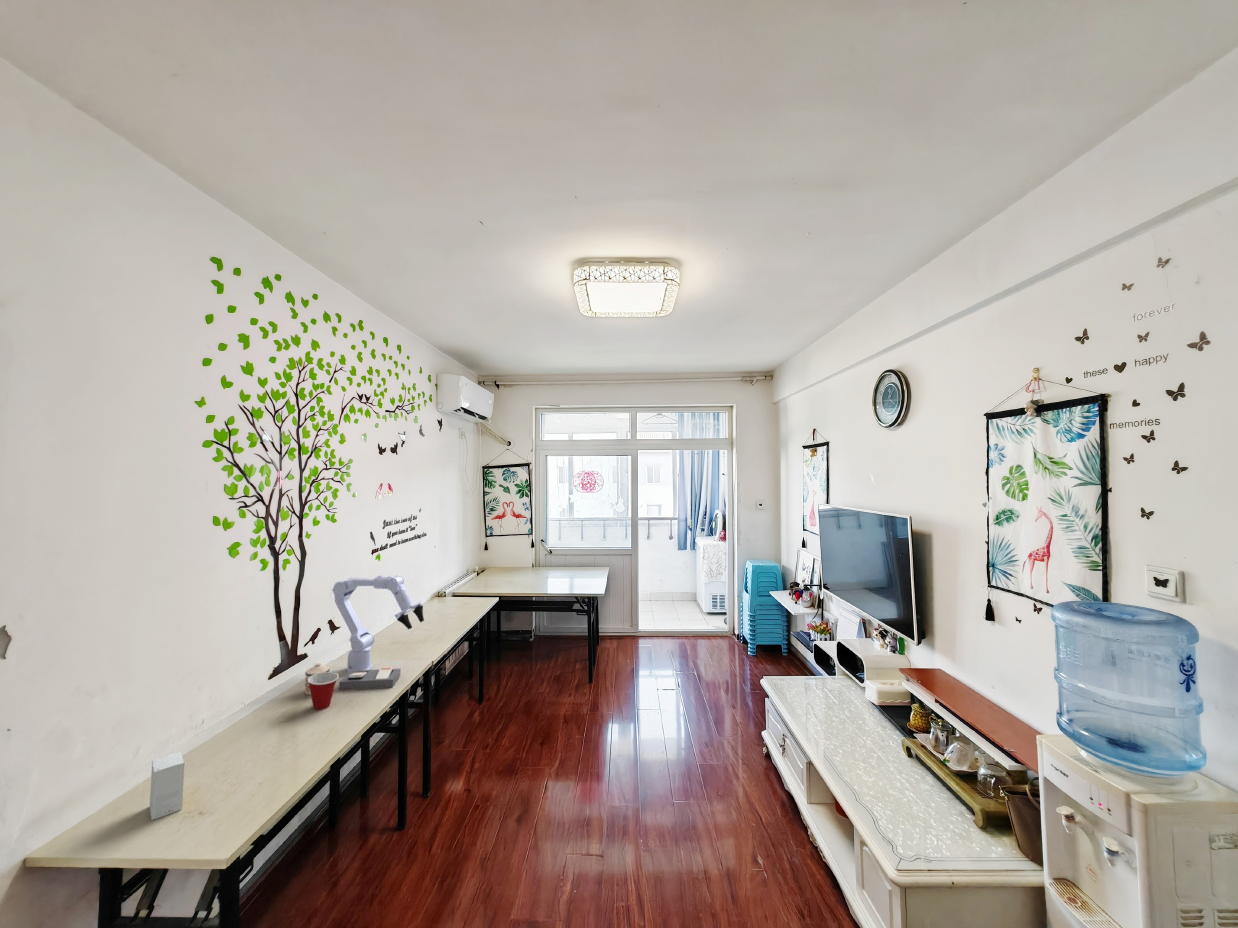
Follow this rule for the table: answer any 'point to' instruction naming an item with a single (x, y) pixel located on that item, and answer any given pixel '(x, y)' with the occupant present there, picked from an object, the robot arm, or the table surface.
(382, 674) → the rocker right
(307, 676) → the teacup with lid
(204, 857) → the table surface
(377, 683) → the grey flat block
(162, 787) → the small box
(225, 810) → the table surface
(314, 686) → the plastic cup
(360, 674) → the rocker left
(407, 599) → the robot arm
